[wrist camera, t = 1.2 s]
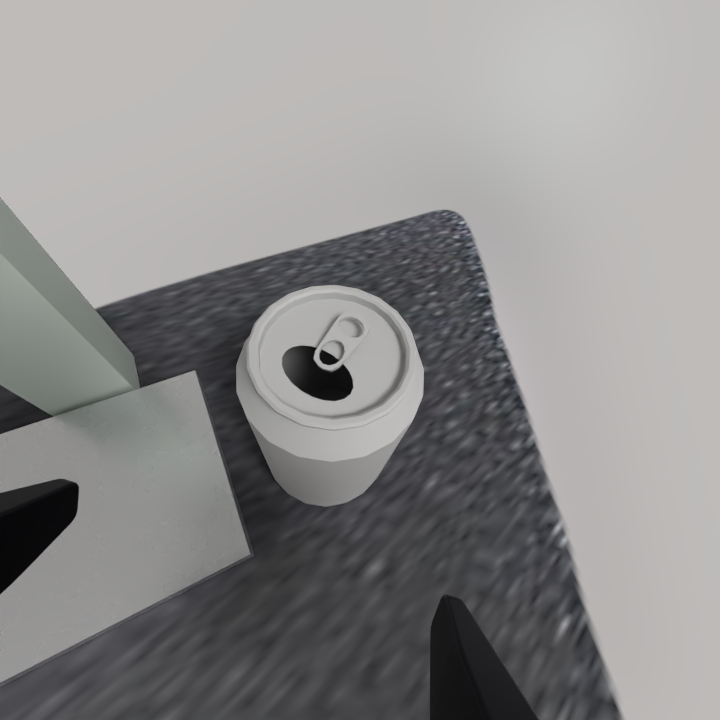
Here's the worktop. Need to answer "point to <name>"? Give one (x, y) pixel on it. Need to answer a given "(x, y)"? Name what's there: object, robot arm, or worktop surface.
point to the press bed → (119, 517)
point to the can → (329, 390)
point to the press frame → (53, 331)
